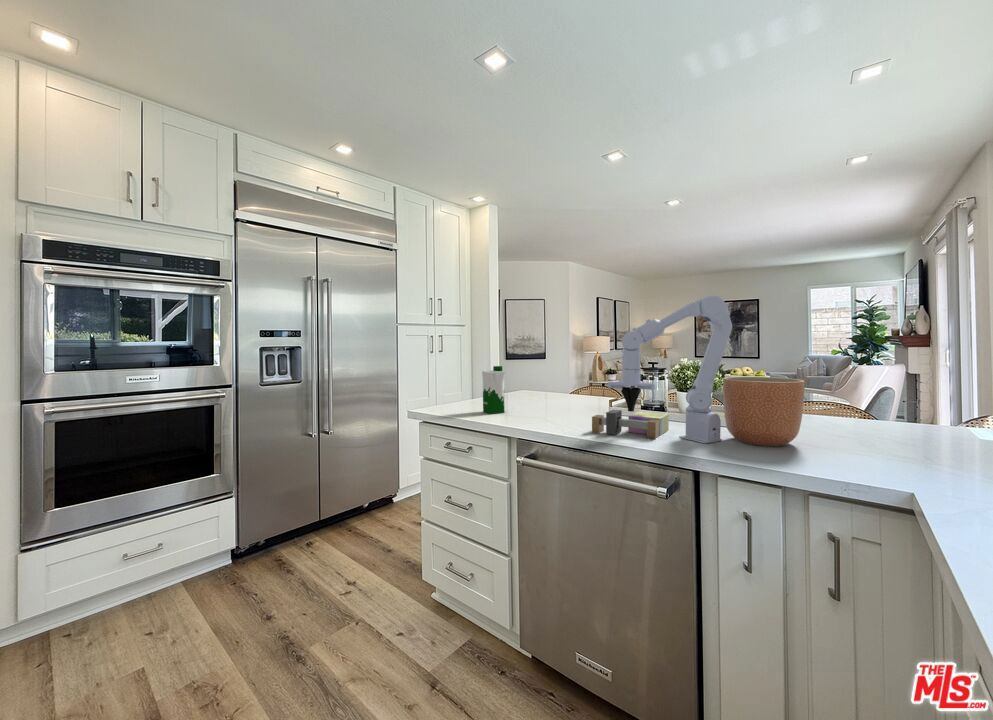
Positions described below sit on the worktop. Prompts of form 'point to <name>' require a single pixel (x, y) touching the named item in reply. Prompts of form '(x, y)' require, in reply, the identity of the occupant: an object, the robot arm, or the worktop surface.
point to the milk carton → (493, 390)
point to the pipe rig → (627, 425)
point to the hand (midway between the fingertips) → (631, 411)
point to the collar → (613, 422)
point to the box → (647, 417)
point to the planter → (763, 409)
